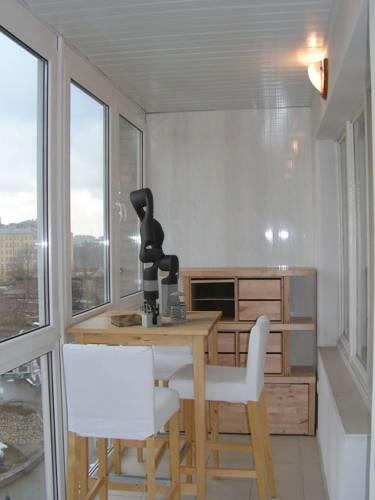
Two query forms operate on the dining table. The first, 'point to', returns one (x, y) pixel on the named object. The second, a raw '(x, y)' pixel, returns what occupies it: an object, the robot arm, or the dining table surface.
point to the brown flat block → (126, 320)
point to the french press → (178, 317)
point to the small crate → (148, 320)
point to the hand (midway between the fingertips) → (152, 323)
